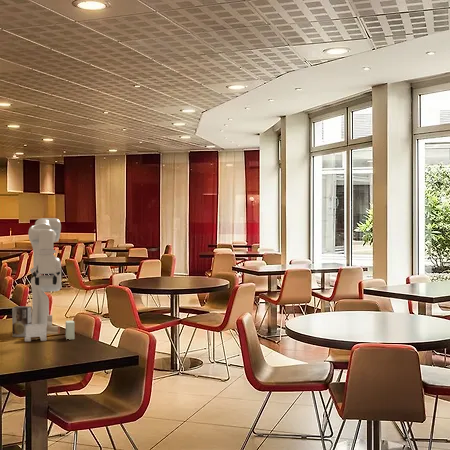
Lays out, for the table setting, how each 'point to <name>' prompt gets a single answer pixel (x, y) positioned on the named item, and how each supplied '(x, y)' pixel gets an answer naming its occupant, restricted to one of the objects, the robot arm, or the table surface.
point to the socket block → (70, 329)
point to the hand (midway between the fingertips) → (45, 284)
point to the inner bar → (51, 328)
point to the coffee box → (20, 320)
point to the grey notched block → (35, 331)
